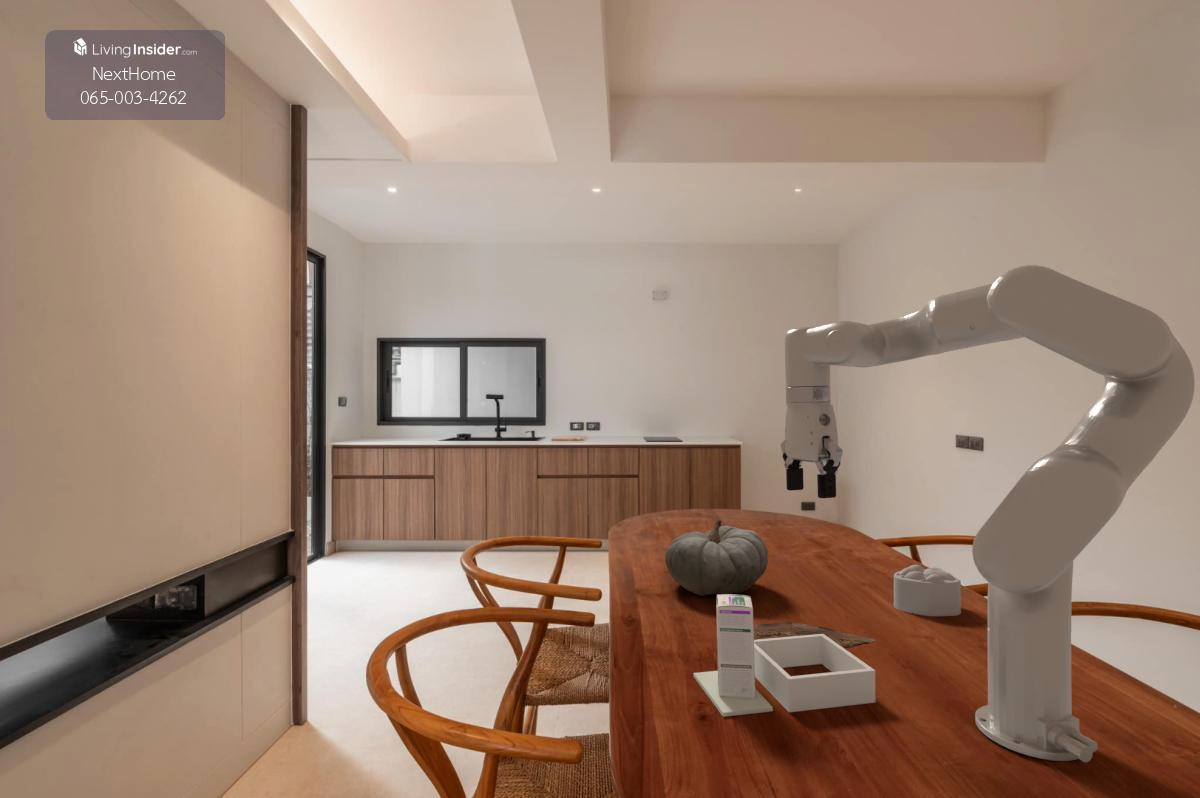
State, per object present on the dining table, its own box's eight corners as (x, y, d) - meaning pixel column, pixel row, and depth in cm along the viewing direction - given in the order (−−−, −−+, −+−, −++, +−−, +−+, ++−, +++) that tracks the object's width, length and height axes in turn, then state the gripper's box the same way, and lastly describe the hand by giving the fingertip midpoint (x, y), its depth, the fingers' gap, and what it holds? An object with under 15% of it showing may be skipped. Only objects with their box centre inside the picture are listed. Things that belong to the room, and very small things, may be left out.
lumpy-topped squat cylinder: (967, 616, 128) (967, 576, 128) (908, 616, 128) (907, 576, 128) (938, 599, 138) (938, 562, 138) (884, 600, 138) (883, 563, 138)
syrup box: (756, 700, 92) (755, 606, 92) (717, 697, 93) (716, 604, 93) (753, 682, 97) (752, 594, 97) (716, 679, 98) (716, 592, 98)
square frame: (875, 702, 92) (875, 670, 92) (788, 712, 89) (788, 679, 89) (823, 661, 106) (823, 633, 106) (747, 668, 104) (747, 640, 104)
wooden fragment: (737, 640, 117) (737, 634, 117) (741, 620, 127) (741, 615, 127) (881, 657, 109) (881, 651, 109) (872, 634, 119) (872, 629, 119)
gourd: (795, 585, 141) (780, 514, 141) (710, 620, 130) (694, 543, 131) (731, 569, 164) (718, 507, 164) (654, 597, 153) (641, 532, 153)
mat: (772, 711, 90) (772, 707, 90) (723, 716, 88) (723, 712, 88) (737, 672, 102) (737, 668, 102) (693, 676, 101) (693, 673, 101)
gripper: (858, 396, 98) (860, 499, 97) (799, 397, 114) (801, 486, 114) (818, 396, 96) (820, 502, 96) (764, 398, 113) (766, 488, 112)
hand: (810, 493), depth 105 cm, fingers open, 9 cm apart
